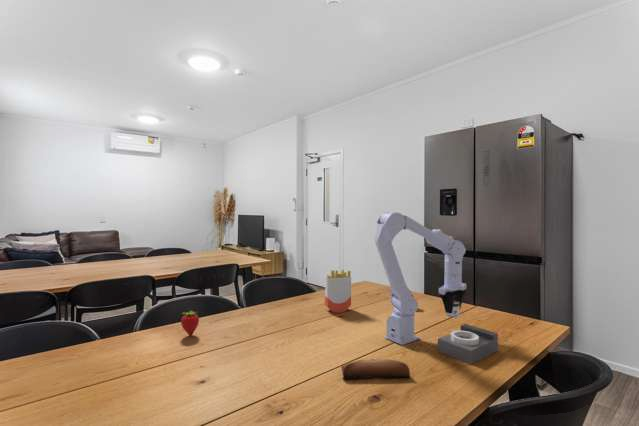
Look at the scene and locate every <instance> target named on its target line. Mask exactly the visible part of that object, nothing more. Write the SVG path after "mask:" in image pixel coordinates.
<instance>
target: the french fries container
mask: <svg viewBox="0 0 639 426" xmlns="http://www.w3.org/2000/svg"><path fill="white" fill-rule="evenodd" d="M344 271H345V270H344V269H341V273H340V272H339V270H332V269H331V271H330V274H327V275H326V277H325V288H324V289H325V290H324V305H325V306H326V307H327V308H328V309H329V310H330V311H331V312H332V313H341V312H346V311H347V310H348V309H349V308H350V307H351V306H352V277H351V270H347V272H346V271H345V272H344Z"/></svg>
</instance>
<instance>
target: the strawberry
mask: <svg viewBox="0 0 639 426" xmlns="http://www.w3.org/2000/svg"><path fill="white" fill-rule="evenodd" d="M197 313H198V311H193V310H192V309H189V311H188V312H181V314H183V316H182V318H181V319H180V323H181V326H182V329H183V330H184V331H185V332H186V333H187V335H188V336H189V337H191V336H193V334H194V333H195V331H196V330H197V328H198V325H199V321H200V317H199V316H198V314H197Z"/></svg>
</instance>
